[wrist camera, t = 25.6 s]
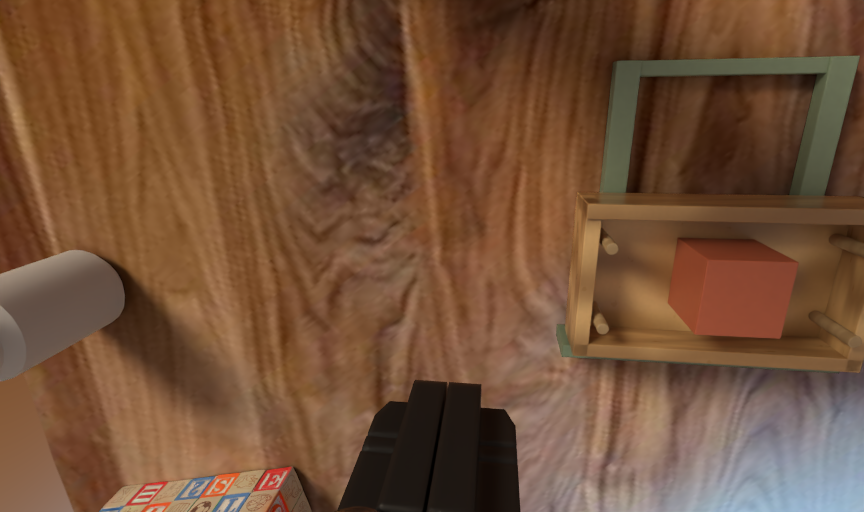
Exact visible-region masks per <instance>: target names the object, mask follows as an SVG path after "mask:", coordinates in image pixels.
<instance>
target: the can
mask: <svg viewBox="0 0 864 512" xmlns="http://www.w3.org/2000/svg"><path fill="white" fill-rule="evenodd" d="M124 302H125V294H124V288H123V284H122V281H121V279H120V277H119V275H118V273H117V272H116V271H115V270H114V269H113V268H112V266H111V265H110V264H108V263H107V262H106V261H104V260H102V259H101V258H99V257H98V256H96V255H95V254H92V253H89V252H86V251H83V250H70V251H67V252H64V253H61V254H58V255H55V256H52V257H49V258H46V259H43V260H40V261H37V262H34V263H31V264H28V265H26V266H23V267H20V268H17V269H14V270H11V271H8V272H5V273H2V274H0V381H4V380H8V379H11V378H14V377H16V376H18V375H19V374H21V373H23V372H25V371H26V370H28V369H30V368H32V367H34V366H35V365H37V364H39V363H41V362H42V361H44V360H46V359H48V358H50V357H51V356H53V355H55V354H57V353H58V352H60V351H62V350H64V349H66V348H67V347H69V346H71V345H73V344H74V343H76V342H78V341H80V340H82V339H83V338H85V337H87V336H89V335H90V334H92V333H94V332H96V331H98V330H99V329H101V328H103V327H105V326H106V325H108V324H110V323H112V322H113V321H114V320H115V319H117V318H118V317H119V316H120V314H121V312H122V310H123V308H124Z"/></svg>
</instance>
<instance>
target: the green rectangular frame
mask: <svg viewBox="0 0 864 512" xmlns="http://www.w3.org/2000/svg"><path fill="white" fill-rule="evenodd" d="M859 58H860V56H832V57H786V58H738V59H689V60H626V61H616V62H613V69H612V78H611V88H610V97H609V107H608V117H607V126H606V136H605V145H604V155H603V165H602V174H601V184H600V192H602V193H626V188H627V180H628V172H629V164H630V156H631V147H632V139H633V131H634V123H635V115H636V106H637V98H638V90H639V82H640V77H682V76H744V75H806V74H817V77H816V81H815V85H814V90H813V94H812V98H811V103H810V107H809V111H808V115H807V120H806V124H805V128H804V133H803V137H802V141H801V146H800V150H799V154H798V159H797V163H796V167H795V172H794V176H793V180H792V185H791V189H790V193H789V195H803V196H824V195H825V191H826V187H827V183H828V179H829V175H830V171H831V168H832V164H833V160H834V156H835V152H836V148H837V144H838V140H839V136H840V132H841V128H842V125H843V121H844V117H845V113H846V109H847V105H848V101H849V97H850V93H851V89H852V85H853V81H854V78H855V74H856V70H857V66H858V62H859ZM556 336H557V340H558V344H559V348H560V352H561V355H562V357H575V358H592V359H608V360H625V361H642V362H658V363H675V364H692V365H708V366H725V367H742V368H758V369H775V370H791V371H808V372H825V373H839V371H822V370H805V369H789V368H772V367H755V366H738V365H722V364H705V363H688V362H671V361H655V360H638V359H621V358H604V357H588V356H573V354H572V351H571V348H570V344H569V341H568V338H567V334H566V331H565V325H558V324H557V331H556Z"/></svg>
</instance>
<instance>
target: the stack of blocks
mask: <svg viewBox="0 0 864 512" xmlns="http://www.w3.org/2000/svg"><path fill="white" fill-rule="evenodd" d="M99 512H312V510H311V508H310V505H309V503H308V501H307V498H306V496H305V494H304V491H303V488H302V486H301V484H300V481H299V479H298V477H297V474H296V472H295V470H294V468H293V467H285V468H278V469H272V470H267V471H266V470H256V471H248V472H243V473H232V474H223V475H217V476H211V477H204V478H195V479H189V480H181V481H172V482H158V483H149V484H139V485H131V486H124V487H122V488H121V489H120V490H119V491H118V492H117V493H116V494H115V495H114V496H113V497H112V498H111V499H110V500H109V501H108V502H107V503H106V504H105V505H104V506H103V507H102V509H101V510H100V511H99Z"/></svg>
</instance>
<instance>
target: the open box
mask: <svg viewBox="0 0 864 512" xmlns="http://www.w3.org/2000/svg"><path fill="white" fill-rule="evenodd" d="M678 238H717V239H755V240H757V241H759V242H760V243H762V244H764V245H766V246H768V247H770V248H772V249H774V250H776V251H778V252H780V253H782V254H784V255H785V256H787V257H789V258H791V259H793V260H795V261H797V262H799V265H798V269H797V273H796V277H795V281H794V285H793V290H792V294H791V298H790V302H789V306H788V310H787V314H786V318H785V322H784V327H783V331H782V335H781V338H780V339H776V338H755V337H734V336H713V335H695V334H694V333H693V332H692V331H691V330H690V328H689V327H688V326H687V325H686V324H685V323H684V321H683V320H682V319H681V318H680V317H679V316H678V315H677V313H676V312H675V311H674V310H673V309H672V308H671V306H670V305H669V304H668V297H669V290H670V284H671V278H672V271H673V265H674V258H675V252H676V245H677V239H678ZM565 331H566V334H567V338H568V341H569V344H570V348H571V351H572V354H573V356H588V357H604V358H621V359H638V360H655V361H671V362H688V363H705V364H722V365H738V366H755V367H772V368H789V369H805V370H822V371H839V372H856V373H860V370H861V367H862V364H863V361H864V197H860V196H803V195H736V194H669V193H602V192H577V198H576V209H575V220H574V232H573V243H572V254H571V265H570V277H569V288H568V299H567V310H566V321H565Z"/></svg>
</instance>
